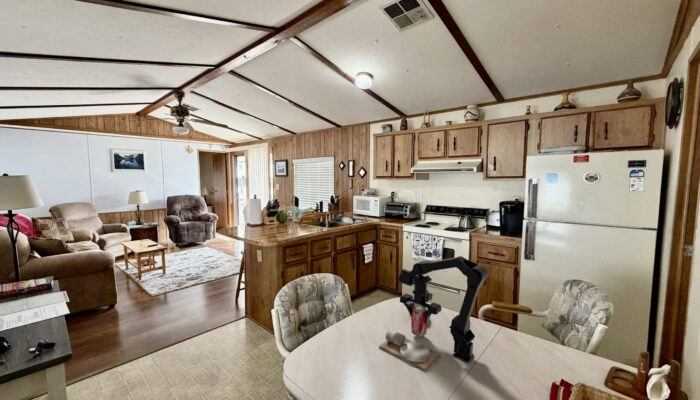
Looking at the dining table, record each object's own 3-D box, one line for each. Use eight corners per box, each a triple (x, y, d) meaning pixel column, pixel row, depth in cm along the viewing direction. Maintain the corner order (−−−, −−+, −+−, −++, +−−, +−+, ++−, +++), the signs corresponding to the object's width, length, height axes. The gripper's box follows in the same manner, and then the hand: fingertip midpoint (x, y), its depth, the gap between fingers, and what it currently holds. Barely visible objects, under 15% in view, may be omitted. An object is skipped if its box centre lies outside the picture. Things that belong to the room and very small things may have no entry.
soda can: (428, 337, 134) (429, 312, 133) (412, 337, 135) (413, 312, 133) (424, 329, 141) (425, 305, 140) (409, 329, 142) (410, 305, 140)
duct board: (440, 356, 124) (440, 342, 123) (425, 371, 114) (425, 356, 113) (395, 335, 138) (396, 323, 138) (379, 347, 129) (379, 334, 128)
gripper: (447, 289, 136) (446, 321, 137) (411, 279, 148) (410, 308, 150) (436, 296, 127) (434, 331, 129) (399, 285, 140) (398, 316, 141)
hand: (419, 321), depth 137 cm, fingers closed on soda can, 7 cm apart
